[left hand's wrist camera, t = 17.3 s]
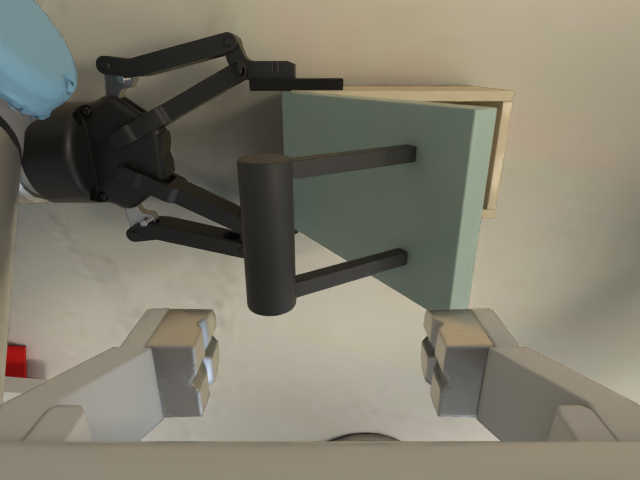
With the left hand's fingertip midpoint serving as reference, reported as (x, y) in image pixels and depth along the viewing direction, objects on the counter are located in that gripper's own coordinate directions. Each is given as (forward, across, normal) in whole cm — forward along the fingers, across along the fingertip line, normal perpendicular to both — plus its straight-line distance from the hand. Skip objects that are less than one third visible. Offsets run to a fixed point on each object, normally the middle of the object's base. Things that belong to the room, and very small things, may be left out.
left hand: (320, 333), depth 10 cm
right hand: (+24, +2, 0) cm, 24 cm away
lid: (+15, +3, 0) cm, 15 cm away
